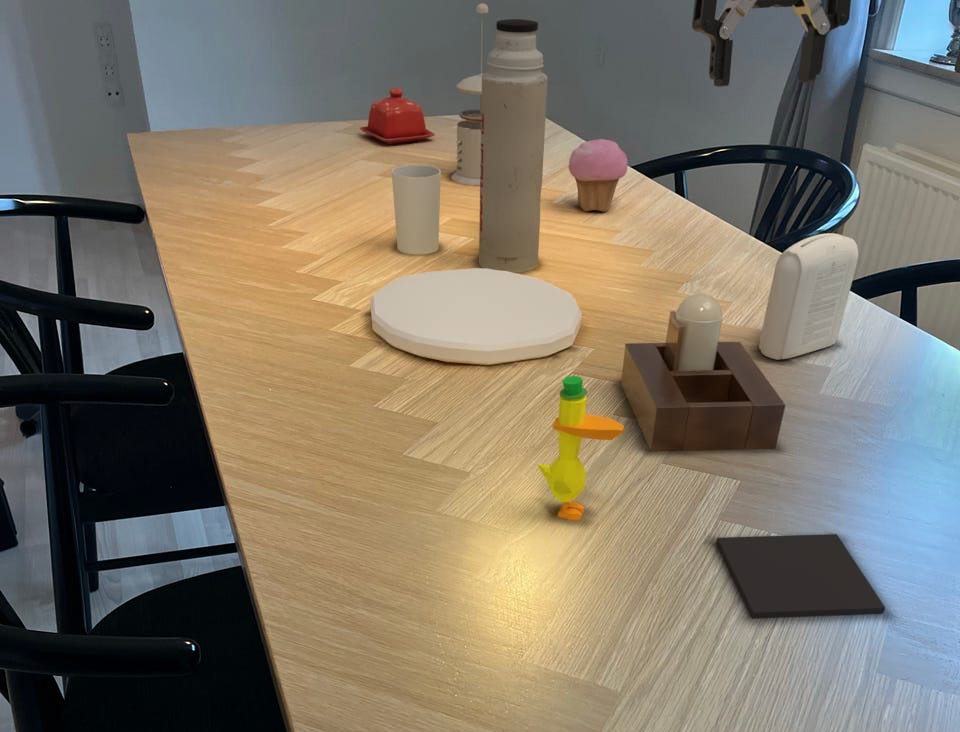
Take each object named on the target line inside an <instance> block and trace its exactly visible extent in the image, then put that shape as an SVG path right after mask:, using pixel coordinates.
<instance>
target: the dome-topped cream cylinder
mask: <svg viewBox="0 0 960 732" xmlns="http://www.w3.org/2000/svg"><path fill="white" fill-rule="evenodd" d="M668 317H669V318H668V324H667V330H666V339H665V343H666V345H665V352H664V359H663V360H664V362H665V364H666V366H667V368H668V369H669V371H702V370H713V369H714V364H715V358H716V352H717V346H718V342H720V341H719V340H720V334H721V328H722V322H723V317H724V315H723V310H722V307H721V304H720V303H719V302H718V301H717V300H716V299H715V298H714V297H713V296H711V295H709V294H706V293H695V294H694V293H693V294H692V295H689V296H687V297H686V298H685V299H683V300H682V301H681V302H680V303H679V305H678V307H677V309H676V310H670V311H669V316H668Z"/></svg>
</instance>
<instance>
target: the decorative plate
mask: <svg viewBox="0 0 960 732" xmlns="http://www.w3.org/2000/svg"><path fill="white" fill-rule="evenodd" d="M370 317H371V327H372V331H373V332H374V333H375V334H376V335H378V336H379V337H381V338H382V339H383V340H384V341H385V342H386V343H388V344H389V345H391V346H392V347H394V348H395V349H399V350H401V351H404V352H407V353H409V354H412V355H415V356H418V357H422V358H427V359H432V360H437V361H442V362H447V363H457V364H458V363H459V364H469V365H483V366H493V365H499V364H506V363H513V362H520V361H527V360H533V359H540V358H547V357H548V356H549V357H550V356H552V355H554V354H556V353H558V352H561V351H563V350H565V349H568V348H570V347H572V346H573V345H574V343H575V340H576V337H578V333H579V331H580V329H581V327H582V321H583V320H582V319H583V313H582V311H581V309H580V307H579V305H578V303H577V301H576V299H575V296H573V294H572V293H570V292H568V291H566V290H564V289H562V288H561V287H558V286H556V285H554V284H551V283H550V282H548V281H546V280H543V279H541V278H538V277H533V276H531V275H530V276H529V275H525V274H521V273H512V272H508V271H500V270H493V269H488V268H482V267H475V268H461V269H447V270H446V269H445V270H431V271H426V272H419V273H414V274H409V275H402V276H399V277H398V278H396V279H394V280H392V281H391V282H389V283H387V284H385V285H384V286H383V287H382V288H381V289H379V290H378V291H376V292H375V293H374V294H373V295H372V297H371V299H370Z"/></svg>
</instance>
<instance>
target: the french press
mask: <svg viewBox="0 0 960 732" xmlns="http://www.w3.org/2000/svg"><path fill="white" fill-rule="evenodd" d="M475 9H476V11H475V12H476V13H479V14H481V16H480V17H481V18H480V19H481V21H480V23H481V24H480V25H481V27H480V73H478V74H476V75H473V76H472V75H471V76H469V77H465V78H464V79H462V80H461V81H460V82H458V83H457V84H456V85H455V87H456V88H457V90H458V91H459V92H461V93H465V94H470V95H480V96H479V109H477V108H476V109H466V110H462V111H460V112H459V114H458V116H459V117H460V118H461V119H462V120H461V121H459V122H457V123H456V139H457V140H456V170H455V172H454V173H453V174H452V175H451V176H450V178H451V179H452V181H454V182H456V183H458V184H463V185H469V186H480V163H481V100H482V74H483V29H484V28H483V27H484V14H488V13H489V6H488V4H486V3H479V4H478V5H477V6H476V8H475Z"/></svg>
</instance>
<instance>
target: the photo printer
mask: <svg viewBox="0 0 960 732" xmlns="http://www.w3.org/2000/svg"><path fill="white" fill-rule="evenodd" d="M858 260H859V248H858V246H857V243H856V241H855V240H854V239H853V238H851V237H848V236H845V235H842V234H839V233H833V232H831V233H829V232H827V233H819V234H816V235H813V236H809V237H805V238H804V239H802V240H800V241H798V242H796V243H794V244H792V245H791V246H789V247H788V248H787V249H785V250H784V251H783V252H782V253H781V254H780V255H779V256H778V258H777V260H776V262H775V266H774V271H773V276H772V280H771V285H770V290H769V295H768V300H767V304H766V308H765V313H764V314H765V315H764V319H763V323H762V329H761V332H760V339H759V343H758V344H759V346H758V349H759V350H760V352H761V355H762V356H763V355H764V356H765V357H767V358H769V359H773V360H777V361H779V360H786V359H792V358H795V357H798V356H803V355H805V354H809V353H811V352H815V351H818V350H821V349H825V348H828V347H832V346H834V345H835V344H836V342H837V341H838V338H839V335H840V330H841V327H842V324H843V323H842V322H843V319H844V316H845V315H844V314H845V310H846V307H847V303H848V299H849V295H850V292H851V287H852V283H853V281H854V276H855V272H856V270H857V269H856V268H857V265H858Z"/></svg>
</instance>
